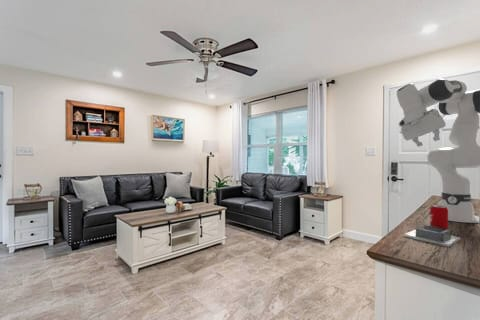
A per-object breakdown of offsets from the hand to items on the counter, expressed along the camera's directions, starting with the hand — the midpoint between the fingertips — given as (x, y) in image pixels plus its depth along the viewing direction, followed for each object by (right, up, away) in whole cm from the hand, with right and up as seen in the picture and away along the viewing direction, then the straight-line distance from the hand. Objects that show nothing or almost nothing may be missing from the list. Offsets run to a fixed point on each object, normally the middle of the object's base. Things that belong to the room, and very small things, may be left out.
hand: (428, 143), depth 114 cm
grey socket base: (-8, -40, -12) cm, 43 cm away
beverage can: (+1, -40, -4) cm, 41 cm away
